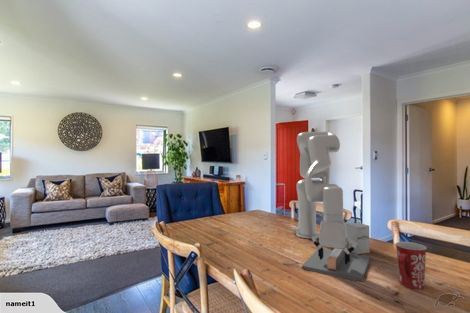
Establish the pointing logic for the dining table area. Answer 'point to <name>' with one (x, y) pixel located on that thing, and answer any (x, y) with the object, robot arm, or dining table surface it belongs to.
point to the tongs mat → (350, 270)
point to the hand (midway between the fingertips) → (333, 260)
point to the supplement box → (359, 237)
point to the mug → (411, 264)
